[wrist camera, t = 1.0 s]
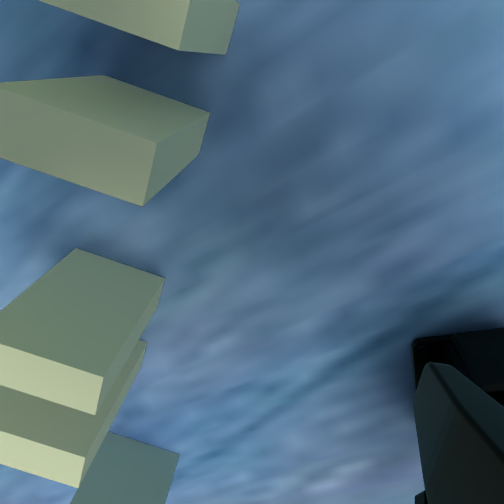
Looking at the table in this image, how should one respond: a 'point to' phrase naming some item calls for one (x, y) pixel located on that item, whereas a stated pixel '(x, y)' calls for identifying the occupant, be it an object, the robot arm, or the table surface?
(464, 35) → the table surface
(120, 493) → the domino
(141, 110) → the domino
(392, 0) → the table surface
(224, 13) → the domino
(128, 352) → the domino
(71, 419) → the domino
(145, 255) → the table surface
